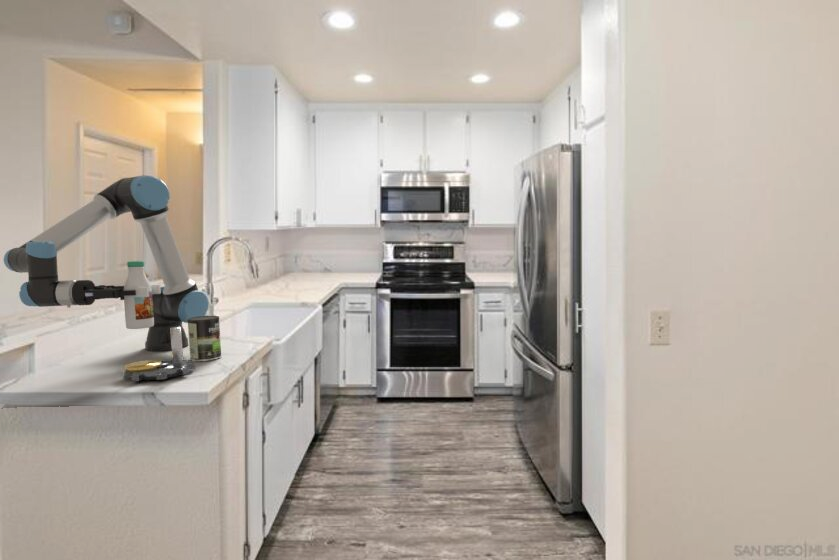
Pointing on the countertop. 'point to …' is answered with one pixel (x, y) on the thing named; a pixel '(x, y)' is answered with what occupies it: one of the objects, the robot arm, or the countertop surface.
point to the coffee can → (204, 338)
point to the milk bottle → (138, 298)
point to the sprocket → (161, 363)
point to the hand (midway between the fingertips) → (154, 290)
